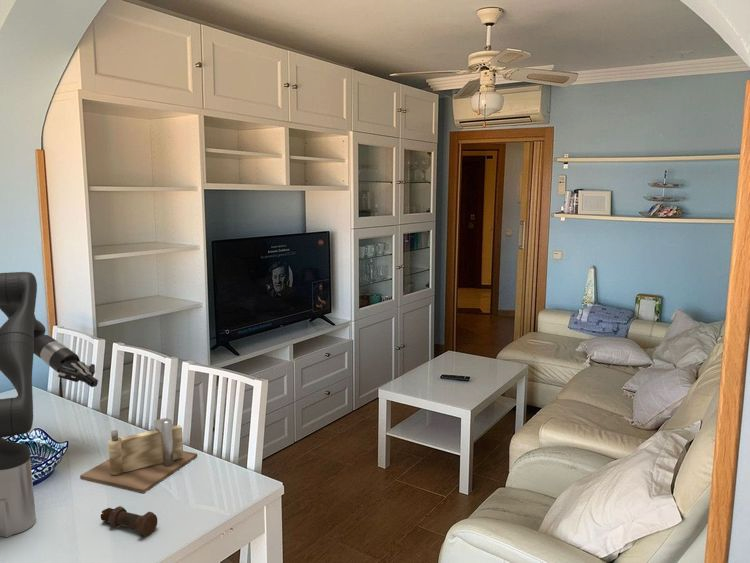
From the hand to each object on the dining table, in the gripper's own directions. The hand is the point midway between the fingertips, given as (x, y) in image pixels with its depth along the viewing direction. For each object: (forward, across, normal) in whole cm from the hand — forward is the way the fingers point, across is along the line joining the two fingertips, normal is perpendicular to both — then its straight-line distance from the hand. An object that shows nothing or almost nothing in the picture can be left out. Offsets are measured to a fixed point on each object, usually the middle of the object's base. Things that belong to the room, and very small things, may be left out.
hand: (95, 384), depth 181 cm
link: (+26, +3, +14) cm, 30 cm away
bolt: (+45, -21, +12) cm, 51 cm away
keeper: (+29, +8, +12) cm, 33 cm away
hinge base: (+24, +3, +16) cm, 29 cm away
